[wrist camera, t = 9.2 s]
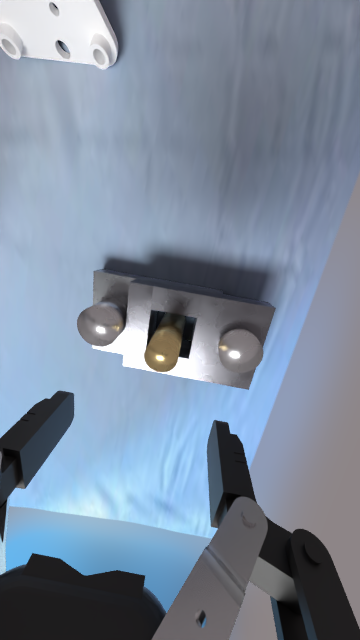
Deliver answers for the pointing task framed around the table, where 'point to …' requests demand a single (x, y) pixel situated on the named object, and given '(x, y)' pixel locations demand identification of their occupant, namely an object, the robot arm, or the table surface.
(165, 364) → the brass pin
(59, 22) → the mounting bracket
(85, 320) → the knobbed metal plate
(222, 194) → the table surface
